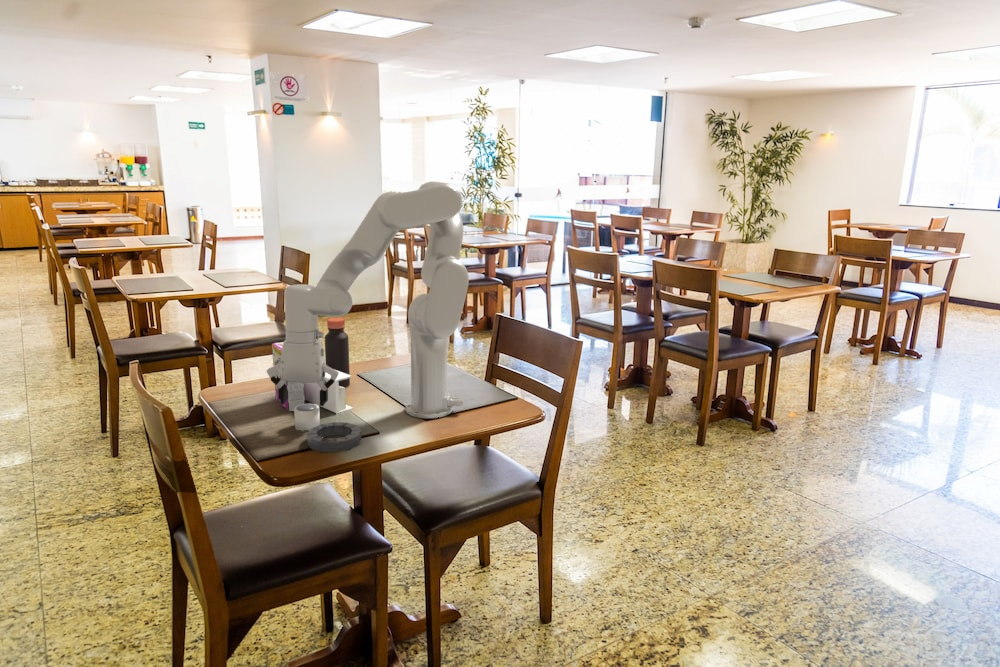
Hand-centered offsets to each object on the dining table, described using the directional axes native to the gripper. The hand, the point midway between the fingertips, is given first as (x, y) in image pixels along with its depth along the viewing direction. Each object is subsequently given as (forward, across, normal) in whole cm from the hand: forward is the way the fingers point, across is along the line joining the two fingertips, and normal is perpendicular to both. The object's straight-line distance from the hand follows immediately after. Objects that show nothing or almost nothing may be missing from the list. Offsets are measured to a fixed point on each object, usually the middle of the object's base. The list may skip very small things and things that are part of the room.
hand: (303, 403), depth 165 cm
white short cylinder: (+6, -1, 0) cm, 6 cm away
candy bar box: (+6, +8, -15) cm, 19 cm away
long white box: (+6, 0, -18) cm, 19 cm away
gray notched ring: (+6, -10, +9) cm, 14 cm away
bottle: (+6, -1, -32) cm, 33 cm away
